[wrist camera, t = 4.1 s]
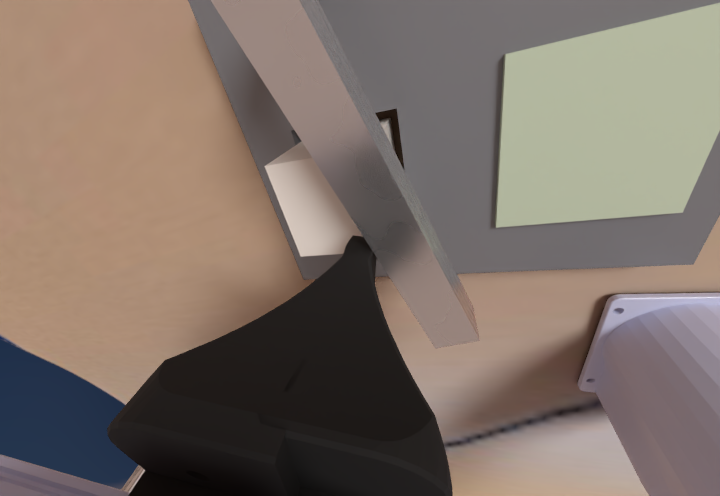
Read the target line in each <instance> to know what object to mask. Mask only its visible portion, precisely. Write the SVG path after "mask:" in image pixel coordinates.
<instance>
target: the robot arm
mask: <svg viewBox="0 0 720 496" xmlns="http://www.w3.org/2000/svg"><path fill="white" fill-rule="evenodd" d="M376 260H377V257H376V256H375V254H374V252H373V251H372V249H371V248H370V246H369V245H368V243H367V242H366V240H365V238H364V237H362V236H354V235H353V236H352V237H351V238H350V240H349V241H348V243H347V245H346V247H345V250H344V253H343V256H342V257H341V258H340V259H339V260H338V261H337V262H336V263H334V264H333V265H332V266H331V267H330V268H329V269H328V270H327V271H326V272H325V273H323V274H322V275H321V276H320V277H319V278H317V279H316V280H315V281H314V282H313V283H311V284H310V285H309V286H308V287H306V288H305V289H304V290H302V291H301V292H300V293H298V294H297V295H295V296H294V297H292V298H291V299H289V300H288V301H286V302H285V303H283V304H282V305H280V306H278V307H277V308H275V309H273V310H272V311H270V312H268V313H267V314H265V315H263V316H262V317H260V318H258V319H256V320H254V321H252V322H250V323H249V324H247V325H245V326H243V327H241V328H239V329H237V330H235V331H232V332H230V333H228V334H226V335H224V336H222V337H220V338H218V339H215V340H213V341H211V342H208V343H206V344H204V345H201V346H199V347H196V348H194V349H192V350H189V351H187V352H184V353H182V354H180V355H177V356H175V357H172V358H170V359H167V360H165V361H164V362H163V363H162V364H161V365H160V366H159V367H158V368H157V370H156V371H155V372H154V373H153V374H152V375H151V376H150V377H149V379H148V380H147V381H146V382H145V383H144V384H143V386H142V387H141V388H140V389H139V390H138V391H137V393H136V394H135V395H134V396H133V397H132V398H131V400H130V401H129V402H128V403H127V404H126V406H125V407H124V408H123V409H122V410H121V411H120V413H119V414H118V415H117V416H116V418H114V420H113V421H112V422H111V423H110V425H109V427H108V428H107V430H108V436H109V438H110V440H111V442H112V443H114V444H115V445H116V446H117V447H118V448H119V449H120V450H121V451H122V452H124V453H125V454H126V455H127V456H128V457H130V458H131V459H132V460H134V461H135V462H136V463H137V464H138V465H139V466H141V467H142V468H143V469H144V470H145V471H144V473H143V474H142V476H141V477H140V479H139V480H138V482H137V483H136V485H135V486H134V488H133V489H132V491H131V492H126V491H123V490H119V489H116V488H113V487H109V486H106V485H102V484H99V483H96V482H92V481H89V480H85V479H82V478H79V477H75V476H72V475H68V474H65V473H62V472H58V471H55V470H51V469H48V468H44V467H41V466H38V465H34V464H30V463H28V462H24V461H21V460H17V459H14V458H10V457H7V456H4V455H0V496H452V483H451V477H450V471H449V465H448V461H447V456H446V452H445V449H444V445H443V441H442V438H441V434H440V431H439V428H438V424H437V421H436V418H435V415H434V413H433V411H432V410H431V408H430V407H429V405H428V403H427V402H426V400H425V398H424V397H423V395H422V393H421V391H420V390H419V388H418V386H417V384H416V383H415V381H414V379H413V377H412V375H411V373H410V372H409V370H408V368H407V366H406V364H405V362H404V360H403V358H402V356H401V354H400V352H399V349H398V347H397V345H396V343H395V341H394V339H393V337H392V334H391V332H390V330H389V327H388V325H387V322H386V319H385V317H384V314H383V311H382V308H381V305H380V302H379V299H378V295H377V291H376V287H375V273H376ZM616 308H617V309H616ZM577 384H578V387H579V389H580V390H581V391H584V392H596V394H597V396H598V398H599V400H600V402H601V404H602V406H603V408H604V410H605V412H606V414H607V416H608V418H609V420H610V422H611V424H612V426H613V428H614V430H615V432H616V434H617V435H618V437H619V439H620V441H621V443H622V445H623V447H624V449H625V451H626V453H627V455H628V457H629V459H630V461H631V463H632V465H633V467H634V469H635V471H636V473H637V475H638V477H639V479H640V481H641V483H642V485H643V486H644V488H645V489H646V491H647V493H648V494H649V496H720V293H668V294H618V295H613V296H611V297H610V298H608V300H607V302H606V305H605V308H604V310H603V313H602V316H601V319H600V322H599V324H598V327H597V330H596V333H595V336H594V338H593V341H592V344H591V347H590V350H589V352H588V355H587V358H586V361H585V364H584V366H583V369H582V372H581V375H580V378H579V380H578V383H577Z"/></svg>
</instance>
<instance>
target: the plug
mask: <svg viewBox="0 0 720 496" xmlns="http://www.w3.org/2000/svg"><path fill="white" fill-rule="evenodd" d="M379 121H380V123H381V125H382V127H383V129H384V131H385V133H386V135H387V137H388V139H389V141H390V143H391V145H392V147H393V149H394V151H395V144H394V137H393V130H392V123H391V117H390V118H385V119H380V120H379ZM395 153H396V152H395ZM265 169H266V171H267V174H268V176H269V179H270V181H271V184H272V186H273V189H274V191H275V194H276V196H277V199H278V201H279V204H280V206H281V209H282V211H283V214H284V216H285V219H286V221H287V224H288V226H289V229H290V231H291V234H292V236H293V239H294V241H295V244H296V246H297V249H298V251H299V254H300V256H301V257H303V256H318V255H333V254H343V253H344V250H345V247H346V245H347V243H348V241H349V240H350V238H351V237H352V236H353V235H354V236H362V237H363V235H362V234H361V232H360V231H359V229H358V228H357V226H356V225H355V223H354V221H353V220H352V218H351V217H350V215H349V214H348V212H347V211H346V209H345V208H344V206H343V204H342V203H341V201H340V200H339V198H338V197H337V195H336V194H335V192H334V191H333V189H332V187H331V186H330V184H329V183H328V181H327V180H326V178H325V177H324V175H323V173H322V172H321V170H320V169H319V167H318V166H317V164H316V163H315V161H314V160H313V158H312V156H311V155H310V153H309V152H308V150H307V149H306V147H305V146H304V144H303V143H302V141H301V142H300V143H298V144H297V145H295V146H294V147H292V148H291V149H289V150H288V151H286V152H285V153H283V154H282V155H280V156H279V157H278V158H276V159H275V160H273V161H272V162H270V163H269V164H267V165H266V166H265Z"/></svg>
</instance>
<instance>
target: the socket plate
mask: <svg viewBox="0 0 720 496" xmlns="http://www.w3.org/2000/svg"><path fill="white" fill-rule="evenodd" d="M188 1H189V4H190V6H191V8H192V11H193V13H194V16H195V18H196V20H197V23H198V25H199V28H200V30H201V33H202V35H203V37H204V40H205V42H206V45H207V47H208V49H209V52H210V54H211V57H212V59H213V62H214V64H215V66H216V69H217V71H218V74H219V76H220V78H221V81H222V83H223V86H224V88H225V91H226V93H227V95H228V98H229V100H230V103H231V105H232V107H233V110H234V112H235V115H236V117H237V119H238V122H239V124H240V127H241V129H242V132H243V134H244V136H245V139H246V141H247V144H248V146H249V148H250V151H251V153H252V156H253V158H254V161H255V163H256V165H257V168H258V170H259V173H260V175H261V177H262V180H263V182H264V185H265V187H266V190H267V192H268V194H269V197H270V199H271V202H272V204H273V206H274V209H275V211H276V214H277V216H278V219H279V221H280V223H281V226H282V228H283V231H284V233H285V235H286V238H287V240H288V243H289V245H290V248H291V250H292V252H293V255H294V257H295V260H296V262H297V264H298V267H299V269H300V272H301V274H302V277H303V279H304V280H306V279H317V278H319V277H320V276H321V275H322V274H323V273H325V272H326V271H327V270H328V269H329V268H330V267H331V266H332V265H333V264H334V263H336V262H337V261H338V260H339V259H340V258H341V257H342V256H343V254H333V255H318V256H303V257H301V256H300V254H299V251H298V249H297V246H296V244H295V241H294V239H293V236H292V234H291V231H290V229H289V226H288V224H287V221H286V219H285V216H284V214H283V211H282V209H281V206H280V204H279V201H278V199H277V196H276V194H275V191H274V189H273V186H272V184H271V181H270V179H269V176H268V174H267V171H266V169H265V166H266V165H267V164H269V163H270V162H272V161H273V160H275V159H276V158H278V157H279V156H280V155H282V154H283V153H285V152H286V151H288V150H289V149H291V148H292V147H294V146H295V145H297V144H298V143H300V142H301V139H300V138H299V136H298V135H297V133H296V132H295V130H294V129H293V127H292V126H291V124H290V122H289V121H288V119H287V118H286V116H285V115H284V113H283V112H282V110H281V108H280V107H279V105H278V104H277V102H276V101H275V99H274V98H273V96H272V95H271V93H270V91H269V90H268V88H267V87H266V85H265V84H264V82H263V81H262V79H261V78H260V76H259V74H258V73H257V71H256V70H255V68H254V67H253V65H252V64H251V62H250V61H249V59H248V57H247V56H246V54H245V53H244V51H243V50H242V48H241V47H240V45H239V43H238V42H237V40H236V39H235V37H234V36H233V34H232V33H231V31H230V30H229V28H228V26H227V25H226V23H225V22H224V20H223V19H222V17H221V16H220V14H219V13H218V11H217V9H216V8H215V6H214V5H213V3H212V2H211V0H188ZM318 1H319V3H320V5H321V7H322V9H323V11H324V13H325V15H326V16H327V18H328V20H329V22H330V24H331V26H332V28H333V30H334V32H335V34H336V36H337V38H338V40H339V42H340V44H341V46H342V48H343V50H344V52H345V54H346V56H347V58H348V60H349V62H350V64H351V66H352V68H353V70H354V72H355V74H356V76H357V78H358V80H359V82H360V84H361V86H362V88H363V90H364V92H365V94H366V96H367V98H368V100H369V102H370V104H371V106H372V108H373V109H374V111H375V113H377V112H382V111H387V110H391V109H396V108H397V114H398V122H399V130H400V138H401V146H402V153H403V161H404V169H405V173H406V175H407V177H408V179H409V181H410V183H411V185H412V187H413V189H414V191H415V193H416V195H417V197H418V199H419V200H420V202H421V204H422V206H423V208H424V210H425V212H426V214H427V216H428V218H429V220H430V222H431V224H432V226H433V228H434V230H435V232H436V234H437V236H438V238H439V240H440V242H441V244H442V246H443V248H444V250H445V252H446V254H447V256H448V258H449V260H450V262H451V264H452V266H453V268H454V270H455V272H456V274H460V273H486V272H511V271H537V270H563V269H588V268H614V267H640V266H665V265H691V264H694V262H695V260H696V258H697V257H698V255H699V253H700V251H701V249H702V247H703V245H704V243H705V242H706V240H707V238H708V236H709V234H710V232H711V230H712V228H713V227H714V225H715V223H716V221H717V219H718V217H719V215H720V0H318ZM383 276H388V274H387V273H386V271H385V269H384V268H383V266H382V265H381V263H380V262H379V260H378V259H377V260H376V273H375V277H383Z"/></svg>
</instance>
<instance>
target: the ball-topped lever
mask: <svg viewBox="0 0 720 496" xmlns="http://www.w3.org/2000/svg"><path fill="white" fill-rule="evenodd" d="M211 2H212V3H213V5H214V6H215V8H216V9H217V11H218V13H219V14H220V16H221V17H222V19H223V20H224V22H225V23H226V25H227V26H228V28H229V30H230V31H231V33H232V34H233V36H234V37H235V39H236V40H237V42H238V43H239V45H240V47H241V48H242V50H243V51H244V53H245V54H246V56H247V57H248V59H249V61H250V62H251V64H252V65H253V67H254V68H255V70H256V71H257V73H258V74H259V76H260V78H261V79H262V81H263V82H264V84H265V85H266V87H267V88H268V90H269V91H270V93H271V95H272V96H273V98H274V99H275V101H276V102H277V104H278V105H279V107H280V108H281V110H282V112H283V113H284V115H285V116H286V118H287V119H288V121H289V122H290V124H291V126H292V127H293V129H294V130H295V132H296V133H297V135H298V136H299V138H300V139H301V141H302V143H303V144H304V146H305V147H306V149H307V150H308V152H309V153H310V155H311V156H312V158H313V160H314V161H315V163H316V164H317V166H318V167H319V169H320V170H321V172H322V173H323V175H324V177H325V178H326V180H327V181H328V183H329V184H330V186H331V187H332V189H333V191H334V192H335V194H336V195H337V197H338V198H339V200H340V201H341V203H342V204H343V206H344V208H345V209H346V211H347V212H348V214H349V215H350V217H351V218H352V220H353V221H354V223H355V225H356V226H357V228H358V229H359V231H360V232H361V234H362V235H363V237H364V238H365V240H366V242H367V243H368V245H369V246H370V248H371V249H372V251H373V252H374V254H375V256H376V257H377V259H378V260H379V262H380V263H381V265H382V266H383V268H384V269H385V271H386V273H387V274H388V276H389V277H390V279H391V280H392V282H393V283H394V285H395V286H396V288H397V290H398V291H399V293H400V294H401V296H402V297H403V299H404V300H405V302H406V303H407V305H408V307H409V308H410V310H411V311H412V313H413V314H414V316H415V317H416V319H417V321H418V322H419V324H420V325H421V327H422V328H423V330H424V331H425V333H426V334H427V336H428V338H429V339H430V341H431V342H432V344H433V345H434V347H435V348H441V347H447V346H452V345H458V344H463V343H469V342H475V341H480V340H479V335H478V329H477V324H476V319H475V313H474V308H473V305H472V303H471V301H470V299H469V297H468V295H467V293H466V292H465V290H464V288H463V286H462V284H461V282H460V280H459V278H458V276H457V274H456V272H455V270H454V268H453V266H452V264H451V262H450V260H449V258H448V256H447V254H446V252H445V250H444V248H443V246H442V244H441V242H440V240H439V238H438V236H437V234H436V232H435V230H434V228H433V226H432V224H431V222H430V220H429V218H428V216H427V214H426V212H425V210H424V208H423V206H422V204H421V202H420V200H419V199H418V197H417V195H416V193H415V191H414V189H413V187H412V185H411V183H410V181H409V179H408V177H407V175H406V173H405V171H404V169H403V167H402V165H401V163H400V161H399V159H398V157H397V155H396V153H395V151H394V149H393V147H392V145H391V143H390V141H389V139H388V137H387V135H386V133H385V131H384V129H383V127H382V125H381V123H380V121H379V119H378V117H377V115H376V113H375V111H374V109H373V108H372V106H371V104H370V102H369V100H368V98H367V96H366V94H365V92H364V90H363V88H362V86H361V84H360V82H359V80H358V78H357V76H356V74H355V72H354V70H353V68H352V66H351V64H350V62H349V60H348V58H347V56H346V54H345V52H344V50H343V48H342V46H341V44H340V42H339V40H338V38H337V36H336V34H335V32H334V30H333V28H332V26H331V24H330V22H329V20H328V18H327V16H326V15H325V13H324V11H323V9H322V7H321V5H320V3H319V1H318V0H211Z"/></svg>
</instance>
